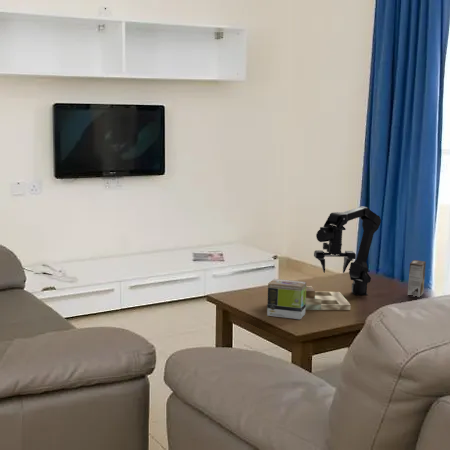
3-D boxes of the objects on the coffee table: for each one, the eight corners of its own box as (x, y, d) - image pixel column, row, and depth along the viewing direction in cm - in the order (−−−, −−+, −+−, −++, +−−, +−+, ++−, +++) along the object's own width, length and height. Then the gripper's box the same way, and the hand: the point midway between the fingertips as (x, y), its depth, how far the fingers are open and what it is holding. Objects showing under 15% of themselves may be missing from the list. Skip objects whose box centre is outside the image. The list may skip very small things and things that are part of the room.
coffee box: (410, 291, 365) (413, 259, 362) (423, 293, 363) (426, 261, 360) (406, 295, 357) (409, 263, 354) (420, 297, 354) (422, 264, 352)
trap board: (339, 296, 351) (339, 286, 350) (350, 310, 330) (351, 299, 329) (295, 296, 349) (296, 286, 349) (304, 309, 328) (304, 298, 327)
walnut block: (312, 296, 341) (312, 287, 341) (314, 299, 336) (315, 291, 335) (300, 296, 341) (301, 287, 340) (302, 299, 336) (303, 290, 335)
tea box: (305, 314, 322) (307, 281, 319) (300, 320, 312) (302, 286, 310) (272, 309, 326) (273, 277, 324) (266, 316, 317) (267, 282, 314)
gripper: (351, 236, 350) (349, 268, 352) (312, 236, 348) (310, 268, 351) (357, 241, 339) (354, 274, 341) (317, 241, 337) (315, 274, 340)
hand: (333, 272), depth 344 cm, fingers open, 9 cm apart
